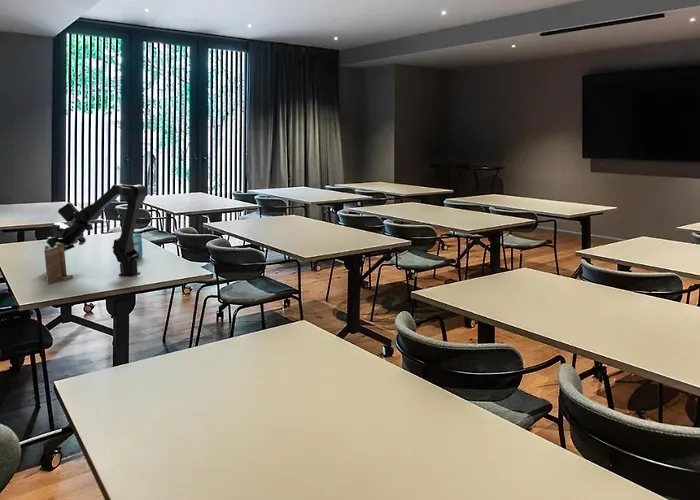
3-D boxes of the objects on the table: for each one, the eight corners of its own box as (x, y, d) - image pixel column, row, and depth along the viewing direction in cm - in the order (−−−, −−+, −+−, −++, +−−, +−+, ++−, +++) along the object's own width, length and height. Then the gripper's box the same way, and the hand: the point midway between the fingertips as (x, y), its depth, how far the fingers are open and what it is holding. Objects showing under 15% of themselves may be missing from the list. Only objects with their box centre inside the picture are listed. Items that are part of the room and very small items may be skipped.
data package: (132, 262, 270) (130, 237, 267) (122, 262, 270) (121, 237, 268) (143, 257, 282) (141, 233, 279) (134, 257, 282) (132, 233, 279)
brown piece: (73, 278, 239) (69, 242, 236) (54, 284, 228) (50, 247, 226) (62, 277, 240) (59, 242, 237) (43, 284, 229) (39, 247, 226)
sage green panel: (53, 265, 255) (50, 236, 253) (64, 274, 239) (61, 244, 236) (45, 266, 253) (43, 237, 251) (56, 275, 237) (53, 244, 234)
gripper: (77, 213, 256) (57, 237, 260) (48, 219, 238) (27, 244, 242) (94, 231, 256) (74, 254, 260) (67, 238, 238) (46, 263, 242)
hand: (56, 254), depth 251 cm, fingers closed, pressing on sage green panel
